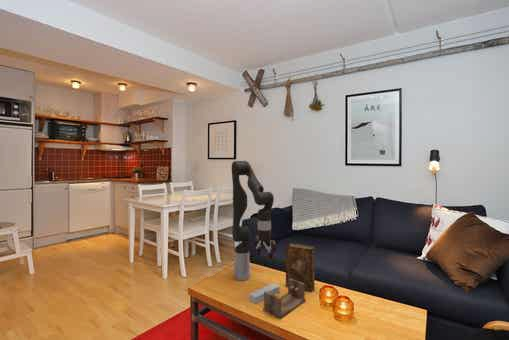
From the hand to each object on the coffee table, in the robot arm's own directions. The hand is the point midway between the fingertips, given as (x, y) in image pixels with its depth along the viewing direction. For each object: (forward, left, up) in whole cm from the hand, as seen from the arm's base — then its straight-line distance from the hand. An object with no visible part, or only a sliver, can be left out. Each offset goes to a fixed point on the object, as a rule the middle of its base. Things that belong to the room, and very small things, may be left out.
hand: (264, 257), depth 148 cm
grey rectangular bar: (0, 0, -23) cm, 23 cm away
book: (+9, +22, -22) cm, 33 cm away
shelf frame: (+14, 0, -22) cm, 26 cm away
